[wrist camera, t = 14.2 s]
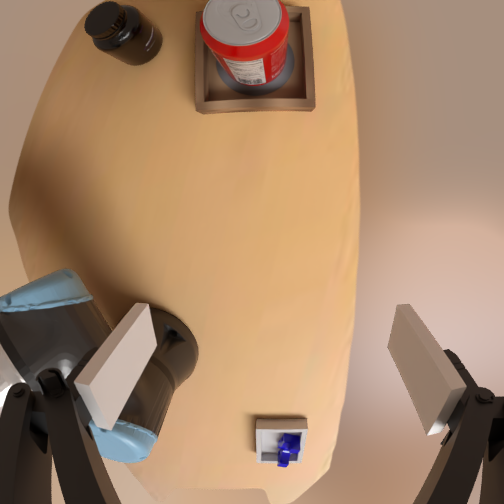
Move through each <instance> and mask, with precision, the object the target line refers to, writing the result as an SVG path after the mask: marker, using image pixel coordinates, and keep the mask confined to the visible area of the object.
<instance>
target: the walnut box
mask: <svg viewBox="0 0 504 504" xmlns="http://www.w3.org/2000/svg"><path fill="white" fill-rule="evenodd" d="M285 8H286V10H287V12H288V15H289V34H288V44H287V54H286V62H285V66H284V69H283V70H282V72H281V73H280V75H279V76H278V77H277V78H276V79H274V80H273V81H271V82H270V83H267V84H265V85H261V86H246V85H243V84H240V83H238V82H236V81H234V80H233V79H232V78H231V77H230V76H229V75H228V74H227V73H226V71H225V70H224V69H223V67H222V66H221V64H220V63H219V61H218V60H217V59H216V57H215V56H214V54H213V53H212V52H211V50H210V49H209V47H208V46H207V45H206V43H205V42H204V40H203V38H202V36H201V32H200V18H201V15H202V13H203V11H200V12H196V38H195V95H196V111H197V112H200V113H202V114H213V113H229V112H251V111H312V110H313V109H314V108H315V81H314V62H313V47H312V33H311V21H310V10H309V7H299V6H285Z"/></svg>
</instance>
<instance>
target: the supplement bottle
mask: <svg viewBox="0 0 504 504" xmlns="http://www.w3.org/2000/svg"><path fill="white" fill-rule="evenodd" d="M84 28H85V31H86V33H87V34H88V35H90V36H92V38H93V42H94V45H95V46H96V47H97V48H98V49H99V50H101V51H103V52H105V53H107V54H109V55H111V56H113V57H115V58H116V59H118V60H120V61H122V62H124V63H126V64H129V65H133V66H137V65H142V64H145V63H147V62H149V61H150V60H152V59H153V58H154V57H155V56H156V55H157V54H158V52H159V50H160V48H161V46H162V40H163V39H162V34H161V32H160V31H159V29H158V28H157V27H156V26H155V25H154V24H153V23H152V22H150V21H149V20H148V19H147V18H146V17H145V16H144V15H143V14H142V13H141V12H140V11H139V10H138V9H136V8H135V7H133V6H129V5H121V6H120V5H119V4H117V3H116V2H113V1H112V2H111V1H109V2H105V3H102V4H99V5H98V6H96V7H95V8H94V9H93V10H92V11H91V12H90V14H89V15H88V17H87V18H86V21H85V27H84Z"/></svg>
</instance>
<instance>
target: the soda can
mask: <svg viewBox="0 0 504 504" xmlns="http://www.w3.org/2000/svg"><path fill="white" fill-rule="evenodd" d="M200 32H201V36H202V38H203V40H204V42H205V43H206V45H207V46H208V47H209V49H210V50H211V52H212V53H213V54H214V56H215V57H216V59H217V60H218V61H219V63H220V64H221V66H222V67H223V69H224V70H225V71H226V73H227V74H228V75H229V76H230V77H231V78H232V79H233V80H234V81H236V82H238V83H240V84H243V85H246V86H261V85H265V84H267V83H270V82H271V81H273V80H274V79H276V78H277V77H278V76H279V75H280V73H281V72H282V70H283V69H284V66H285V62H286V54H287V44H288V34H289V15H288V12H287V10H286V8H285V6H284V4H283V3H282V2H281V1H280V0H209V2H208V3H207V5H206V6H205V9H204V11H203V13H202V15H201V18H200Z"/></svg>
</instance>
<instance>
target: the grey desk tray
mask: <svg viewBox="0 0 504 504" xmlns="http://www.w3.org/2000/svg"><path fill="white" fill-rule="evenodd" d="M307 431H308V426H307V419H257V421H256V453H257V463H278V451H279V450H280V449H281V448H278V442H279V440H280V439H281V437H282V436H283V434H284V433H286V434H291V435H298V436H300V448H301V450H300V452H299V453H298V454H295V453H291V455H290V458H289V463H301V462H302V457H303V452H304V447H305V442H306V436H307Z"/></svg>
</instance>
